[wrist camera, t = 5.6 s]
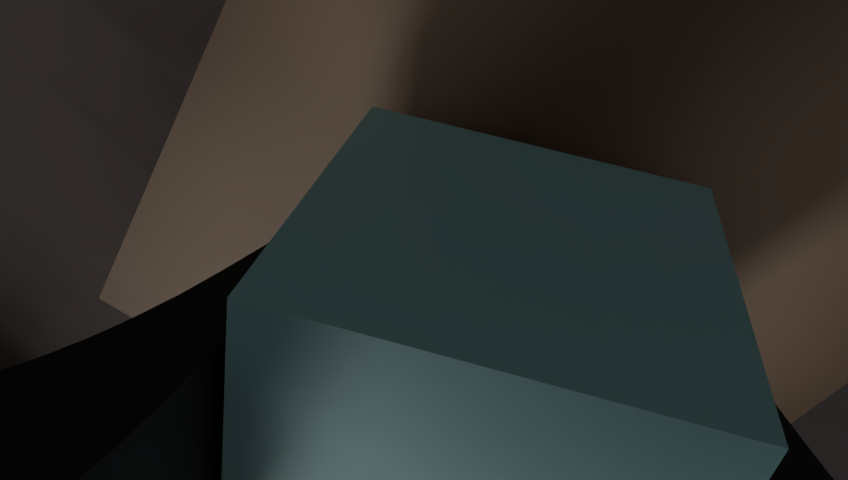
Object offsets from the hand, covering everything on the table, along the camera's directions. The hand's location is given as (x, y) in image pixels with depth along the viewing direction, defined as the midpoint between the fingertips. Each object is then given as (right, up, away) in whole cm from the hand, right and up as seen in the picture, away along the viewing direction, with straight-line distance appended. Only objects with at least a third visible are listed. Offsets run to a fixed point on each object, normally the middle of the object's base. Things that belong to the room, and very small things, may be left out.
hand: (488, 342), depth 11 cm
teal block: (0, +1, +1) cm, 2 cm away
